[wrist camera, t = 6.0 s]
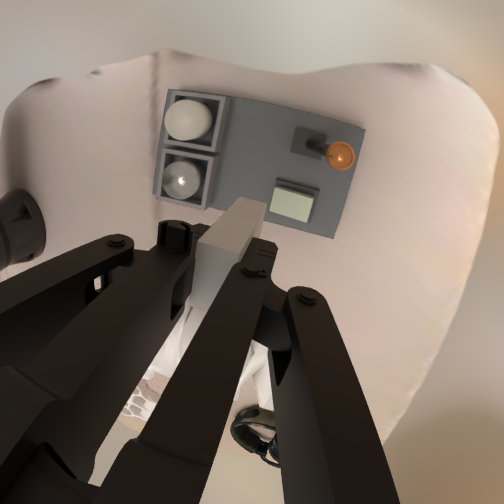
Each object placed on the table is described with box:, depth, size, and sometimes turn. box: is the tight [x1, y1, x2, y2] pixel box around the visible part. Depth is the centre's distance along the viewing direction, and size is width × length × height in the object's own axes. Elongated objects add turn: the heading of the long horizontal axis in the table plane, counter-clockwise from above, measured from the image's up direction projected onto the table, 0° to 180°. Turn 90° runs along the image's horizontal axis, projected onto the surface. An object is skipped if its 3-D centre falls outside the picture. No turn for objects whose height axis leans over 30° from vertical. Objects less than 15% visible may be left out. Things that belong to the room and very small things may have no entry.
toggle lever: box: [306, 139, 355, 171], centre depth 27 cm, size 3×3×9 cm
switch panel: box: [153, 89, 365, 239], centre depth 34 cm, size 24×14×6 cm, turn 78°
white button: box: [165, 100, 212, 141], centre depth 29 cm, size 4×4×3 cm
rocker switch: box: [269, 186, 314, 223], centre depth 33 cm, size 4×3×1 cm, turn 78°
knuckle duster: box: [121, 379, 161, 421], centre depth 61 cm, size 3×18×15 cm
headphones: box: [230, 409, 281, 468], centre depth 54 cm, size 13×13×20 cm
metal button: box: [162, 159, 206, 200], centre depth 34 cm, size 4×4×3 cm
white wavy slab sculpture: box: [142, 295, 274, 411], centre depth 44 cm, size 35×16×10 cm, turn 74°
